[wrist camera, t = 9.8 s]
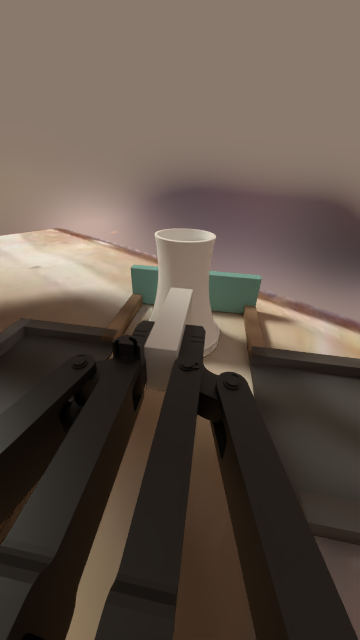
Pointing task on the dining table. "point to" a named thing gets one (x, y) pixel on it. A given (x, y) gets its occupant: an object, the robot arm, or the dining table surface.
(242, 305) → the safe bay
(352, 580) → the dining table surface
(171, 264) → the vase
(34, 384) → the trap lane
